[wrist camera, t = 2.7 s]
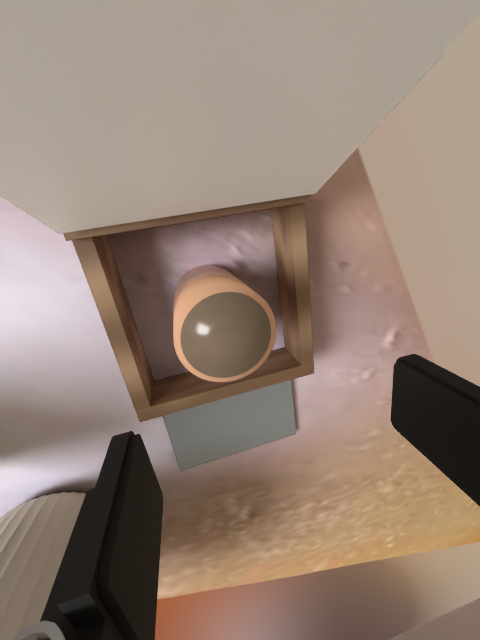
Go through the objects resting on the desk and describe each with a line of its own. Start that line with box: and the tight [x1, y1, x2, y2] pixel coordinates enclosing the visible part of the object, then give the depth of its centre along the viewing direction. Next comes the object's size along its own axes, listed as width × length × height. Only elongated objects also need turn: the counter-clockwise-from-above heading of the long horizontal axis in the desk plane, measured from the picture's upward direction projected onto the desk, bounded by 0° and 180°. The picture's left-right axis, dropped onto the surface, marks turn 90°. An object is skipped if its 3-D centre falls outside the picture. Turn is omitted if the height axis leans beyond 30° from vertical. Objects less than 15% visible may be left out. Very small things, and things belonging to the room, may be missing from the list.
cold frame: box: [63, 194, 314, 422], centre depth 22 cm, size 16×16×5 cm
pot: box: [173, 265, 276, 382], centre depth 20 cm, size 6×6×9 cm
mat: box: [163, 380, 296, 471], centre depth 29 cm, size 10×14×1 cm
